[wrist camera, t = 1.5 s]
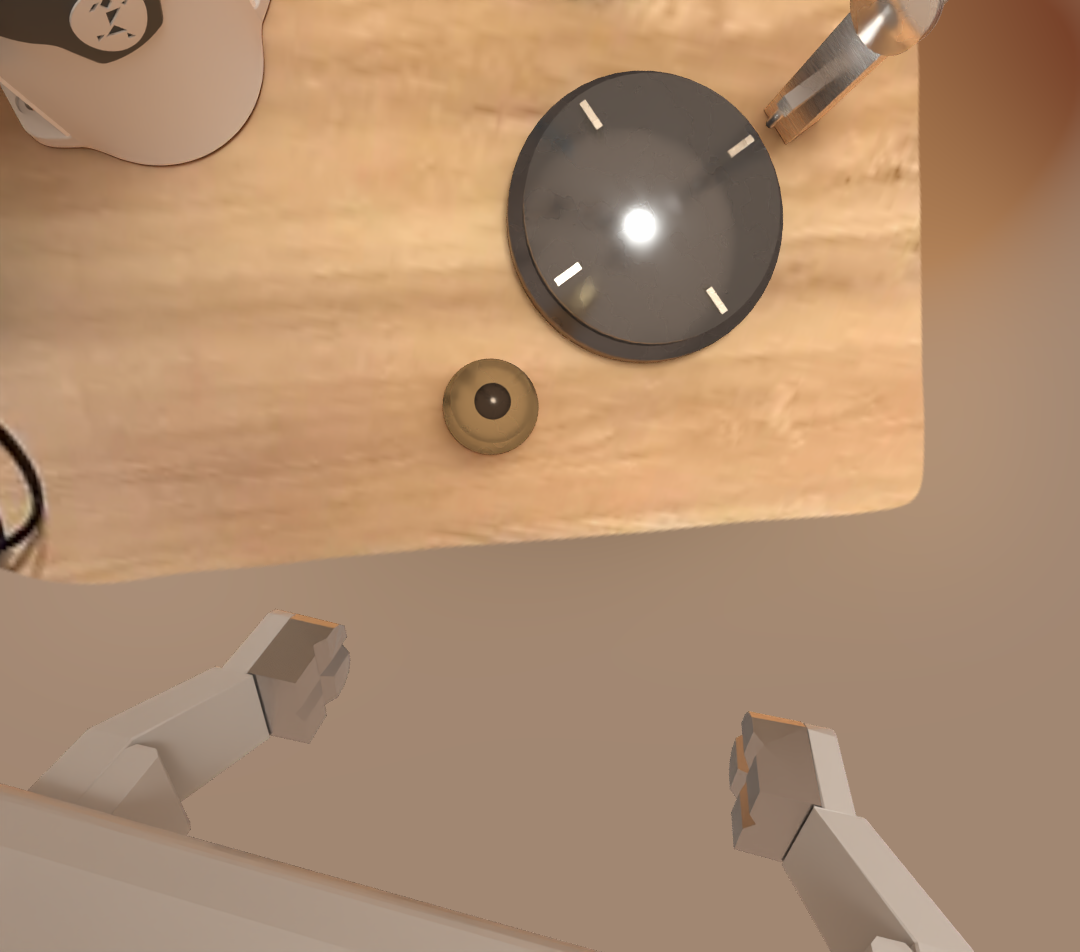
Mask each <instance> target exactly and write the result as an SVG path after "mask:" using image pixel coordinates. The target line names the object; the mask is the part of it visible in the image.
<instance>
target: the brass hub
mask: <svg viewBox="0 0 1080 952" xmlns="http://www.w3.org/2000/svg"><path fill="white" fill-rule="evenodd" d="M443 414H444V419H445V422H446V425H447V427H448V429H449V431H450V432H451V434H452V435H453V436H454V437H455V439H456V440H457V441H458V442H459V443H461V444H462V445H463V446H465V447H466V448H468V449H470V450H472V451H475V452H478V453H482V454H490V455H491V454H501V453H505V452H508V451H510V450H512V449H514V448H516V447H517V446H519V445H520V444H521V443H523V442H524V441H525V440H526V439H527V437H528V436H529V435H530V433H531V432H532V430H533V428H534V426H535V423H536V421H537V416H538V398H537V394H536V391H535V388H534V386H533V384H532V382H531V381H530V379H529V378H528V377H527V375H526V374H525V373H524V372H523V371H522V370H520V369H519V368H518V367H516V366H515V365H513V364H511V363H509V362H506V361H503V360H499V359H482V360H478V361H474V362H472V363H470V364H467V365H466V366H464V367H463V368H461V369H460V370H459V371H458V372H457V373H456V374H455V375H454V376H453V377H452V379H451V380H450V382H449V384H448V386H447V388H446V391H445V394H444V399H443Z"/></svg>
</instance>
